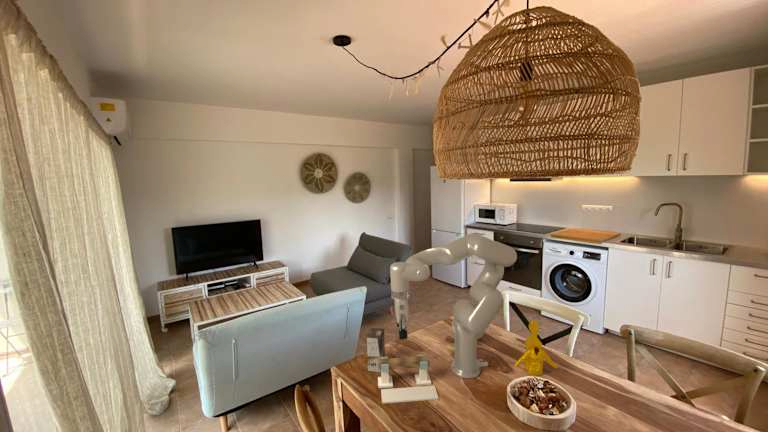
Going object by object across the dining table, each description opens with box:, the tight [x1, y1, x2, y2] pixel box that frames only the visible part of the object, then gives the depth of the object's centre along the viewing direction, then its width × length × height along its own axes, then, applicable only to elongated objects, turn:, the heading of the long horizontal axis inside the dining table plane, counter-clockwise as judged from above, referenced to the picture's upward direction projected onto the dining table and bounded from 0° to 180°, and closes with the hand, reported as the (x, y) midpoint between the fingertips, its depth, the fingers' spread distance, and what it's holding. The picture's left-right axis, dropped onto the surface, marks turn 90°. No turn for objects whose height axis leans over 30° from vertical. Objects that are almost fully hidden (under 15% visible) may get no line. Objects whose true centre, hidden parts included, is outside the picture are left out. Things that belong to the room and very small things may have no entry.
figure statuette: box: [514, 319, 559, 376], centre depth 134 cm, size 18×8×22 cm, turn 84°
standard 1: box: [377, 356, 394, 389], centre depth 130 cm, size 6×6×10 cm
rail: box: [378, 355, 431, 371], centre depth 130 cm, size 22×3×3 cm, turn 93°
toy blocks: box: [414, 354, 432, 387], centre depth 131 cm, size 6×6×10 cm
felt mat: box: [380, 385, 440, 404], centre depth 123 cm, size 22×7×1 cm, turn 93°
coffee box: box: [366, 327, 386, 373], centre depth 141 cm, size 9×6×16 cm
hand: (401, 332), depth 128 cm, fingers open, 9 cm apart
